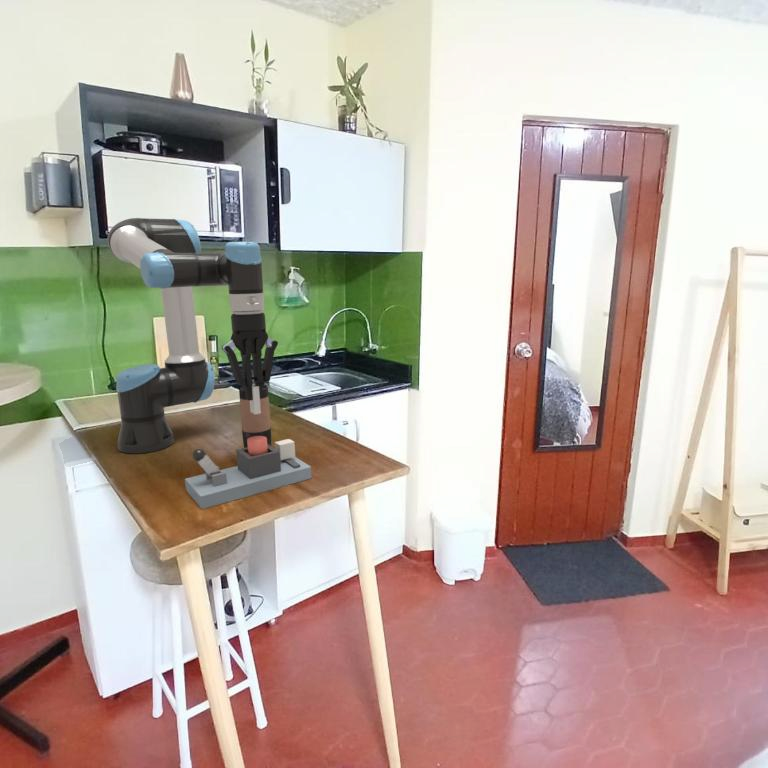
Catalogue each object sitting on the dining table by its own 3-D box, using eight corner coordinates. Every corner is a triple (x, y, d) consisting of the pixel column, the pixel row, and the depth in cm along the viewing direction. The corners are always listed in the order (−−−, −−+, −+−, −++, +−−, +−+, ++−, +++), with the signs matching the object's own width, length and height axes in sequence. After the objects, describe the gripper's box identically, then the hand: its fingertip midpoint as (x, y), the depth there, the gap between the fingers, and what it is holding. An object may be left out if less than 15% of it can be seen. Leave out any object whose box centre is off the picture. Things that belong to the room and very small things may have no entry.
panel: (185, 490, 122) (182, 458, 120) (289, 463, 138) (288, 435, 136) (202, 509, 113) (198, 475, 111) (311, 478, 128) (310, 447, 126)
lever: (209, 477, 120) (188, 452, 116) (218, 469, 121) (198, 444, 117) (213, 481, 118) (192, 456, 114) (222, 472, 119) (202, 448, 115)
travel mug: (278, 457, 142) (274, 386, 138) (254, 465, 137) (249, 392, 132) (262, 451, 147) (257, 382, 142) (238, 458, 142) (232, 387, 137)
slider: (275, 456, 132) (274, 442, 131) (289, 453, 134) (289, 438, 133) (280, 460, 130) (279, 445, 129) (295, 456, 132) (294, 441, 131)
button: (245, 459, 126) (244, 438, 125) (263, 455, 128) (262, 434, 127) (253, 465, 122) (251, 443, 121) (271, 461, 125) (269, 439, 124)
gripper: (225, 315, 110) (234, 421, 116) (281, 311, 118) (287, 411, 123) (213, 313, 116) (223, 414, 122) (267, 309, 124) (274, 404, 129)
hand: (255, 412), depth 122 cm, fingers closed
